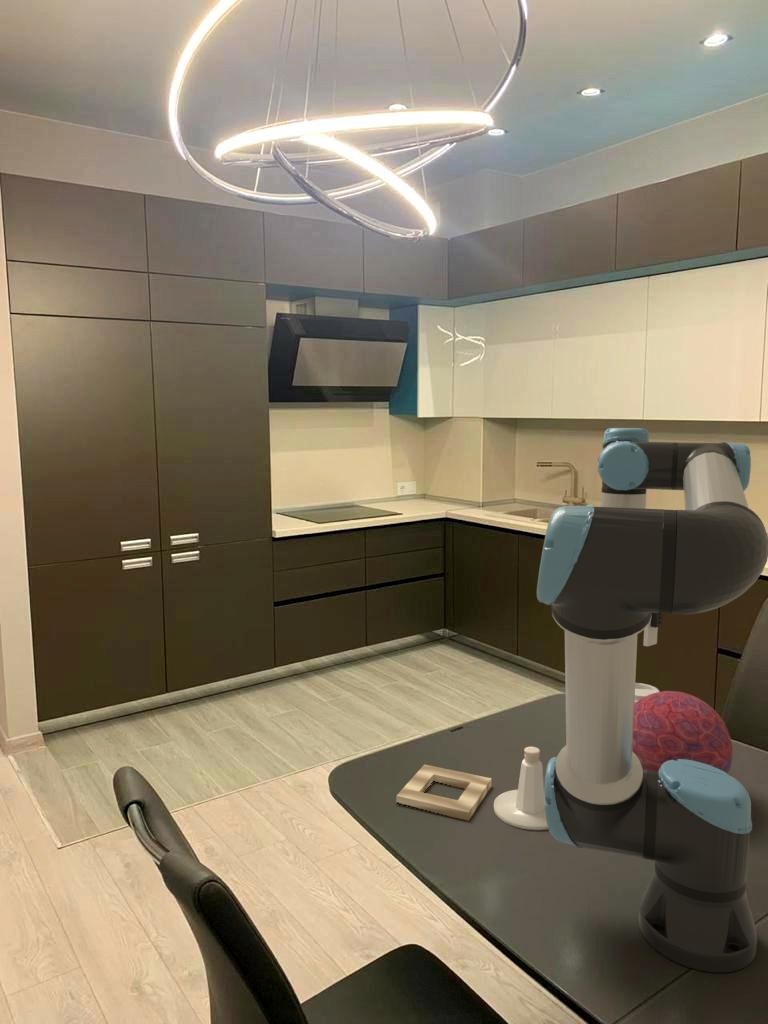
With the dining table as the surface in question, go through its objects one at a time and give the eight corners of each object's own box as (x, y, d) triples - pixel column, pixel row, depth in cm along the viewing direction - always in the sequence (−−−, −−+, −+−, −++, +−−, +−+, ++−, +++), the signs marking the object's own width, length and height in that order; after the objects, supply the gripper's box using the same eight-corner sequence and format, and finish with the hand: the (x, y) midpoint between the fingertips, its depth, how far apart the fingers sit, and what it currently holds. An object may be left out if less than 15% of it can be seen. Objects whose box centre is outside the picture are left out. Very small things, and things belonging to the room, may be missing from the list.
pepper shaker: (509, 807, 138) (511, 749, 137) (525, 796, 142) (527, 740, 141) (535, 817, 135) (537, 758, 133) (551, 806, 139) (553, 748, 137)
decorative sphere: (729, 783, 149) (736, 685, 147) (728, 834, 131) (735, 723, 129) (623, 763, 157) (628, 670, 155) (608, 808, 139) (613, 703, 137)
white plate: (558, 837, 130) (558, 832, 130) (484, 820, 135) (484, 815, 135) (572, 802, 142) (572, 798, 141) (504, 787, 147) (504, 783, 147)
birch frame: (468, 820, 135) (468, 812, 135) (396, 803, 141) (396, 795, 140) (491, 786, 148) (491, 778, 147) (424, 771, 153) (424, 764, 153)
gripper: (700, 523, 125) (693, 649, 127) (580, 508, 145) (576, 616, 147) (673, 527, 120) (666, 657, 123) (553, 510, 140) (549, 622, 143)
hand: (617, 635), depth 135 cm, fingers open, 13 cm apart
